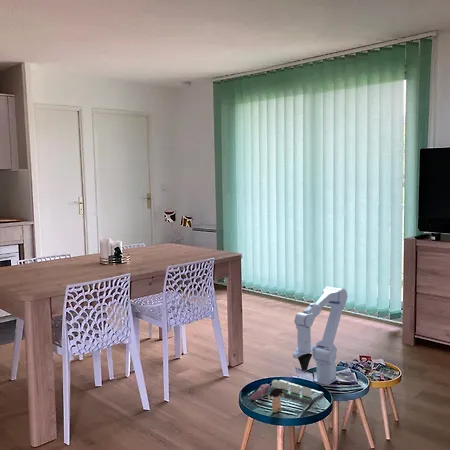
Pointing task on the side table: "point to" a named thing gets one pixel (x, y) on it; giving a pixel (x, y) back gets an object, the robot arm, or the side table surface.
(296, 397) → the breaker panel
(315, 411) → the side table surface
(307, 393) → the block
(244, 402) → the side table surface
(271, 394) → the grandmother figurine
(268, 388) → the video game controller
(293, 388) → the block
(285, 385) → the block
